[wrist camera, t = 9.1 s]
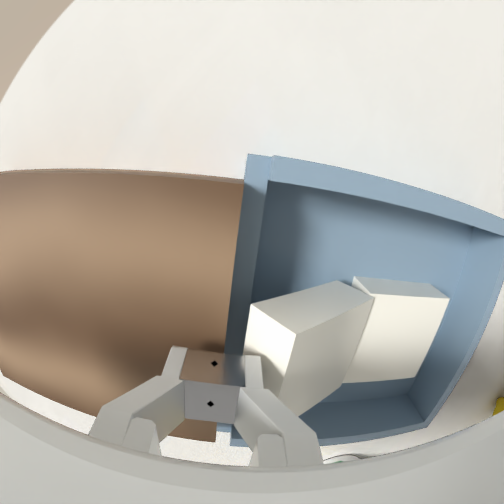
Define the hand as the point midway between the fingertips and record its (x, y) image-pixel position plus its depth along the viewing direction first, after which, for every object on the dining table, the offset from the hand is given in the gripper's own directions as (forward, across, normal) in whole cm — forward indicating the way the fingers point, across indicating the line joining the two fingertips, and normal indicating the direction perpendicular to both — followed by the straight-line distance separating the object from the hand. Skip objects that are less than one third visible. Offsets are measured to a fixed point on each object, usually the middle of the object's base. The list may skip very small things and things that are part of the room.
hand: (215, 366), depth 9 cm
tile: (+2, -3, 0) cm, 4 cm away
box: (+5, -7, 0) cm, 9 cm away
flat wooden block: (+5, +7, 0) cm, 8 cm away
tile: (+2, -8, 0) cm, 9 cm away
